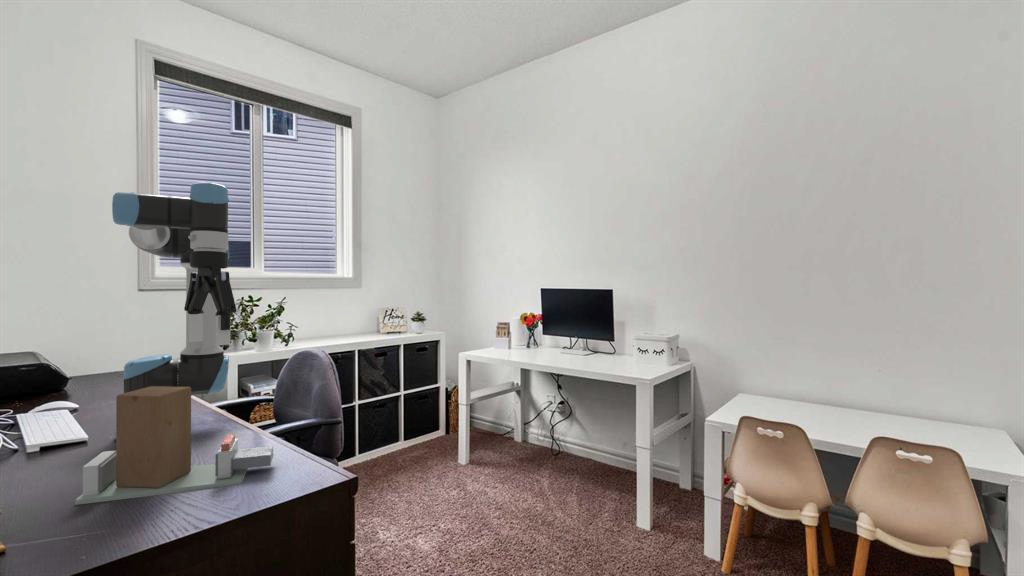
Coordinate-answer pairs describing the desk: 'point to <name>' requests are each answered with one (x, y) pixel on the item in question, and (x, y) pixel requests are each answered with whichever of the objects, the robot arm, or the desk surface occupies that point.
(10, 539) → the desk surface
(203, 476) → the vise bed
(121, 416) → the wooden block
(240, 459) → the free jaw
